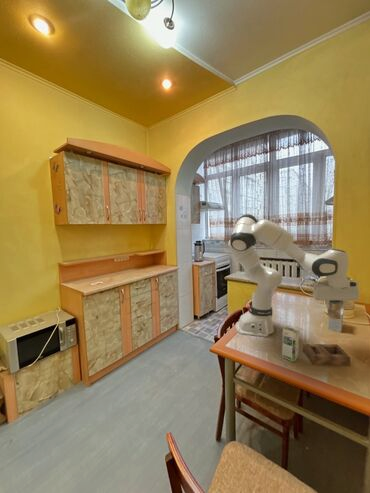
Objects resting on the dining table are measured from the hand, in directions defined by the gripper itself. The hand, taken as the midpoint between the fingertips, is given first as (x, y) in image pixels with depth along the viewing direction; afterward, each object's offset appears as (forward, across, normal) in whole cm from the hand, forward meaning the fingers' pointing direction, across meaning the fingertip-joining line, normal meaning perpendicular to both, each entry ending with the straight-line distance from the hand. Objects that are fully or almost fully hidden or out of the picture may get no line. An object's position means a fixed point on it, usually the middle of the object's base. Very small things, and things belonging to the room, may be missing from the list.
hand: (334, 308), depth 110 cm
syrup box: (+21, -24, -9) cm, 33 cm away
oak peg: (+5, 0, 0) cm, 5 cm away
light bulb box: (+21, +14, +21) cm, 32 cm away
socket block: (+21, -8, -9) cm, 24 cm away
